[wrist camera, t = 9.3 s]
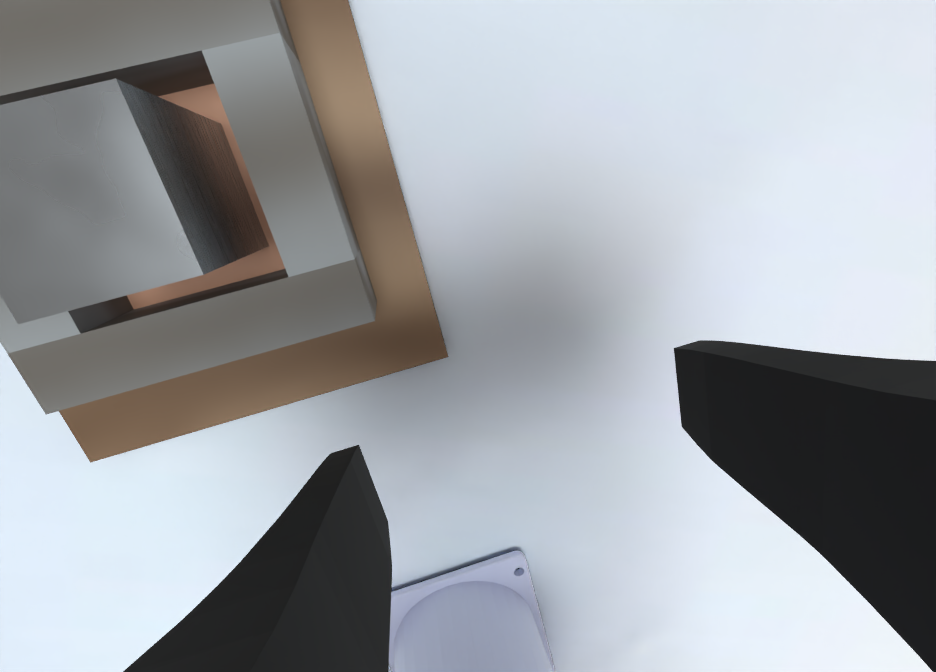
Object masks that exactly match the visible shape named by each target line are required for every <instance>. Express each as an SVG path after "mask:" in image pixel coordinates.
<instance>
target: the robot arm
mask: <svg viewBox="0 0 936 672" xmlns="http://www.w3.org/2000/svg"><path fill="white" fill-rule="evenodd" d="M674 354H675V363H676V373H677V383H678V393H679V403H680V413H681V423H682V427H683V429H684V430H685V431H686V432H687V433H688V434H689V436H690V437H691V438H692V439H693V440H694V441H695V443H696V444H697V445H698V446H699V447H700V448H701V449H702V450H703V451H704V452H705V453H706V455H707V456H708V457H709V458H710V459H711V460H712V461H713V462H714V463H715V464H717V465H718V466H719V467H720V468H721V469H722V470H723V471H725V472H726V473H727V474H728V475H729V476H730V477H732V478H733V479H734V480H735V481H736V482H737V483H739V484H740V485H741V486H742V487H743V488H744V489H746V490H747V491H748V492H749V493H750V494H752V495H753V496H754V497H755V498H756V499H758V500H759V501H760V502H761V503H762V504H763V505H765V506H766V507H767V508H768V509H769V510H771V511H772V512H773V513H774V514H775V515H777V516H778V517H779V518H780V519H781V520H782V521H784V522H785V523H786V524H787V525H788V526H790V527H791V528H792V529H793V530H794V531H796V532H797V533H798V534H799V535H800V536H801V537H803V538H804V539H805V540H806V541H807V542H808V543H809V544H810V545H811V546H812V547H814V548H815V549H816V550H817V551H818V552H819V553H820V554H821V555H822V556H823V557H824V558H825V559H826V560H827V561H828V562H829V563H830V564H831V565H832V566H833V567H834V568H835V569H836V570H837V571H838V572H839V573H840V574H841V575H842V576H843V577H844V578H845V579H846V580H847V581H848V582H849V583H850V584H851V585H852V586H853V587H854V588H855V589H856V590H857V591H858V592H859V593H860V594H861V595H862V596H863V597H864V598H865V599H866V600H867V601H868V602H869V603H870V604H871V605H872V606H873V607H874V608H875V609H876V611H877V612H878V613H879V614H880V615H881V616H882V617H883V618H884V619H885V620H886V621H887V622H888V623H889V624H890V625H891V627H892V628H893V629H894V630H895V631H896V632H897V633H898V634H899V635H900V636H901V637H902V638H903V639H904V640H905V641H906V643H907V644H908V645H909V646H910V647H911V648H912V649H913V650H914V651H915V652H916V653H917V654H918V655H919V656H920V657H921V659H922V660H923V661H924V662H925V663H926V664H927V665H928V667H929V668H930V669H931V670H932V671H933V672H936V361H921V360H900V359H885V358H873V357H861V356H850V355H839V354H829V353H820V352H811V351H803V350H794V349H786V348H778V347H770V346H762V345H753V344H745V343H736V342H725V341H696V342H693V343H690V344H686V345H683V346H680V347H677V348H674ZM520 567H521V568H520ZM517 568H520V569H518V570H515V569H517ZM391 584H392V560H391V548H390V538H389V528H388V521H387V518H386V515H385V513H384V510H383V507H382V505H381V502H380V499H379V497H378V494H377V491H376V489H375V486H374V484H373V481H372V478H371V476H370V473H369V470H368V468H367V465H366V462H365V460H364V457H363V455H362V452H361V449H360V447H359V445H357V446H354V447H350V448H347V449H344V450H341V451H337V452H334V453H331V454H330V455H329V456H328V457H327V458H326V459H325V460H324V461H323V463H322V464H321V465H320V466H319V467H318V469H317V470H316V471H315V473H314V474H313V475H312V476H311V478H310V479H309V480H308V482H307V483H306V484H305V485H304V487H303V488H302V489H301V490H300V492H299V493H298V494H297V496H296V497H295V498H294V499H293V501H292V502H291V503H290V504H289V506H288V507H287V508H286V509H285V511H284V512H283V513H282V514H281V516H280V517H279V518H278V519H277V520H276V522H275V523H274V524H273V525H272V526H271V527H270V528H269V530H268V531H267V532H266V533H265V534H264V535H263V537H262V538H261V539H260V540H259V541H258V542H257V543H256V545H255V546H254V547H253V548H252V549H251V550H250V552H249V553H248V554H247V555H246V556H245V557H244V558H243V560H242V561H241V562H240V563H239V564H238V565H237V566H236V567H235V568H234V569H233V570H232V571H231V572H230V573H229V574H228V575H227V577H226V578H225V579H224V580H223V581H222V582H221V583H220V584H219V585H218V586H217V587H216V588H215V589H214V590H213V591H212V592H211V593H210V594H209V595H208V596H207V597H206V598H204V599H203V600H202V601H201V602H200V603H199V604H198V605H197V606H196V607H195V608H194V609H193V610H192V611H191V612H190V613H189V614H188V615H187V616H186V617H185V618H184V619H183V620H182V621H180V622H179V623H178V624H177V625H176V626H175V627H174V628H173V629H171V630H170V631H169V632H168V633H167V634H166V635H165V636H163V637H162V638H161V639H160V640H159V641H158V642H157V643H155V644H154V645H153V646H152V647H151V648H150V649H149V650H147V651H146V652H145V653H144V654H143V655H142V656H141V657H139V658H138V659H137V660H136V661H135V662H134V663H133V664H131V665H130V666H129V667H128V668H127V669H126V670H125V671H123V672H388V667H389V665H390V667H391V669H392V672H555V668H554V664H553V660H552V656H551V652H550V649H549V645H548V641H547V637H546V633H545V629H544V626H543V622H542V618H541V614H540V610H539V606H538V603H537V599H536V595H535V591H534V587H533V584H532V580H531V576H530V572H529V568H528V564H527V561H526V558H525V555H524V554H523V552H521V551H512V552H509V553H506V554H503V555H500V556H497V557H494V558H491V559H488V560H485V561H482V562H479V563H476V564H473V565H470V566H467V567H464V568H461V569H458V570H456V571H453V572H450V573H447V574H444V575H441V576H438V577H435V578H432V579H429V580H426V581H423V582H420V583H417V584H414V585H411V586H408V587H405V588H402V589H399V590H396V591H393V592H391Z"/></svg>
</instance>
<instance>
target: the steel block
mask: <svg viewBox="0 0 936 672" xmlns="http://www.w3.org/2000/svg"><path fill="white" fill-rule="evenodd" d="M266 247H269V245H268V242H267V240H266V237H265V234H264V232H263V229H262V227H261V224H260V222H259V219H258V217H257V214H256V211H255V209H254V206H253V204H252V201H251V199H250V196H249V194H248V191H247V188H246V186H245V183H244V181H243V178H242V176H241V173H240V170H239V168H238V165H237V163H236V160H235V158H234V155H233V153H232V150H231V147H230V145H229V142H228V140H227V137H226V135H225V132H224V130H223V127H222V124H221V123H218V122H216V121H214V120H211V119H209V118H207V117H204V116H202V115H200V114H197V113H195V112H193V111H190V110H188V109H186V108H183V107H181V106H179V105H176V104H174V103H172V102H169V101H167V100H165V99H162V98H160V97H158V96H155V95H153V94H151V93H148V92H146V91H144V90H141V89H139V88H137V87H134V86H132V85H130V84H127V83H125V82H123V81H120V80H118V79H112V80H107V81H103V82H98V83H94V84H90V85H85V86H81V87H77V88H72V89H68V90H63V91H59V92H55V93H50V94H46V95H42V96H37V97H33V98H29V99H24V100H20V101H15V102H11V103H7V104H2V105H0V295H1V297H2V299H3V300H4V302H5V303H6V305H7V307H8V308H9V310H10V312H11V313H12V315H13V317H14V318H15V320H16V322H17V323H18V324H22V323H26V322H29V321H33V320H37V319H40V318H44V317H48V316H52V315H55V314H59V313H63V312H67V311H70V310H74V309H78V308H81V307H85V306H89V305H93V304H96V303H100V302H104V301H108V300H111V299H115V298H119V297H123V296H126V295H130V294H134V293H137V292H141V291H145V290H149V289H152V288H156V287H160V286H164V285H167V284H171V283H175V282H178V281H182V280H186V279H190V278H193V277H197V276H201V275H204V274H207V273H209V272H211V271H213V270H216V269H218V268H220V267H223V266H225V265H227V264H230V263H232V262H234V261H236V260H239V259H241V258H243V257H246V256H248V255H250V254H252V253H255V252H257V251H259V250H262V249H264V248H266Z"/></svg>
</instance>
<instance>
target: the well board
mask: <svg viewBox="0 0 936 672" xmlns="http://www.w3.org/2000/svg"><path fill="white" fill-rule="evenodd" d="M112 79H118V80H120V81H123V82H125V83H127V84H130V85H132V86H134V87H137V88H139V89H141V90H144V91H146V92H148V93H151V94H153V95H155V96H158V97H160V98H162V99H165V100H167V101H169V102H172V103H174V104H176V105H179V106H181V107H183V108H186V109H188V110H190V111H193V112H195V113H197V114H200V115H202V116H204V117H207V118H209V119H211V120H214V121H216V122H218V123H221V124H222V127H223V130H224V132H225V135H226V137H227V140H228V142H229V145H230V147H231V150H232V153H233V155H234V158H235V160H236V163H237V165H238V168H239V170H240V173H241V176H242V178H243V181H244V183H245V186H246V188H247V191H248V194H249V196H250V199H251V201H252V204H253V206H254V209H255V211H256V214H257V217H258V219H259V222H260V224H261V227H262V229H263V232H264V234H265V237H266V240H267V242H268V245H269V247H266V248H264V249H262V250H259V251H257V252H255V253H252V254H250V255H248V256H246V257H243V258H241V259H239V260H236V261H234V262H232V263H230V264H227V265H225V266H223V267H220V268H218V269H216V270H213V271H211V272H209V273H207V274H204V275H201V276H197V277H193V278H190V279H186V280H182V281H178V282H175V283H171V284H167V285H164V286H160V287H156V288H152V289H149V290H145V291H141V292H137V293H134V294H130V295H126V296H123V297H119V298H115V299H111V300H108V301H104V302H100V303H96V304H93V305H89V306H85V307H81V308H78V309H74V310H70V311H67V312H63V313H59V314H55V315H52V316H48V317H44V318H40V319H37V320H33V321H29V322H26V323H22V324H18V323H17V322H16V320H15V318H14V317H13V315H12V313H11V312H10V310H9V308H8V307H7V305H6V303H5V302H4V300H3V299H2V297H1V295H0V342H1V344H2V345H3V347H4V349H5V350H6V352H7V353H8V355H9V357H10V358H11V360H12V361H13V363H14V364H15V366H16V368H17V369H18V371H19V372H20V374H21V376H22V377H23V379H24V380H25V382H26V384H27V385H28V387H29V388H30V390H31V391H32V393H33V395H34V396H35V398H36V399H37V401H38V403H39V404H40V406H41V407H42V409H43V410H44V412H45V414H49V413H53V412H56V411H59V412H60V414H61V415H62V417H63V419H64V420H65V422H66V423H67V425H68V427H69V428H70V430H71V431H72V433H73V435H74V436H75V438H76V440H77V441H78V443H79V444H80V446H81V448H82V449H83V451H84V453H85V454H86V456H87V457H88V459H89V461H90V462H93V461H97V460H100V459H104V458H107V457H110V456H114V455H117V454H121V453H124V452H127V451H131V450H134V449H137V448H141V447H144V446H148V445H151V444H154V443H158V442H161V441H165V440H168V439H171V438H175V437H178V436H182V435H185V434H188V433H192V432H195V431H199V430H202V429H205V428H209V427H212V426H215V425H219V424H222V423H226V422H229V421H232V420H236V419H239V418H243V417H246V416H249V415H253V414H256V413H260V412H263V411H266V410H270V409H273V408H276V407H280V406H283V405H287V404H290V403H293V402H297V401H300V400H304V399H307V398H310V397H314V396H317V395H321V394H324V393H327V392H331V391H334V390H338V389H341V388H344V387H348V386H351V385H354V384H358V383H361V382H365V381H368V380H371V379H375V378H378V377H382V376H385V375H388V374H392V373H395V372H399V371H402V370H405V369H409V368H412V367H416V366H419V365H422V364H426V363H429V362H432V361H436V360H439V359H443V358H446V357H448V354H447V351H446V347H445V344H444V340H443V337H442V333H441V329H440V326H439V322H438V319H437V315H436V312H435V308H434V305H433V301H432V297H431V294H430V290H429V287H428V283H427V280H426V276H425V272H424V269H423V265H422V262H421V258H420V255H419V251H418V248H417V244H416V240H415V237H414V233H413V230H412V226H411V223H410V219H409V216H408V212H407V208H406V205H405V201H404V198H403V194H402V191H401V187H400V184H399V180H398V176H397V173H396V169H395V166H394V162H393V159H392V155H391V152H390V148H389V144H388V141H387V137H386V134H385V130H384V127H383V123H382V120H381V116H380V112H379V109H378V105H377V102H376V98H375V95H374V91H373V88H372V84H371V80H370V77H369V73H368V70H367V66H366V63H365V59H364V56H363V52H362V48H361V45H360V41H359V38H358V34H357V31H356V27H355V24H354V20H353V16H352V13H351V9H350V6H349V2H348V0H0V105H2V104H7V103H11V102H15V101H20V100H24V99H29V98H33V97H37V96H42V95H46V94H50V93H55V92H59V91H63V90H68V89H72V88H77V87H81V86H85V85H90V84H94V83H98V82H103V81H107V80H112Z"/></svg>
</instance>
